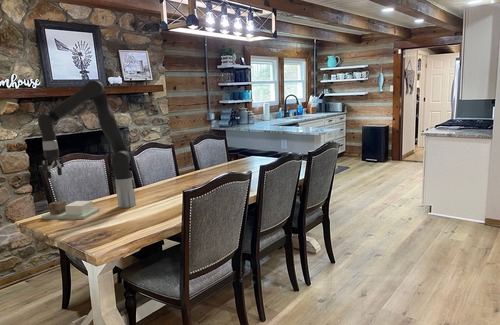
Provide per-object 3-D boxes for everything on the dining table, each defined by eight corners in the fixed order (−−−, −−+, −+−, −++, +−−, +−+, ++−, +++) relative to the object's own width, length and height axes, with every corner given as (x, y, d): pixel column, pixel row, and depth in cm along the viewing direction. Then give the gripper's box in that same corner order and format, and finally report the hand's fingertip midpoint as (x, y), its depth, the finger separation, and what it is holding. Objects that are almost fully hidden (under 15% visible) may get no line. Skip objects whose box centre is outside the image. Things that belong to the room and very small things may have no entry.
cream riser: (93, 209, 218) (92, 200, 217) (82, 214, 208) (81, 205, 207) (77, 209, 219) (76, 200, 219) (66, 214, 210) (65, 205, 209)
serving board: (99, 211, 218) (98, 208, 218) (84, 219, 205) (84, 216, 204) (58, 211, 223) (58, 208, 223) (42, 218, 210) (41, 216, 209)
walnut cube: (66, 211, 216) (65, 201, 215) (59, 214, 210) (58, 204, 210) (57, 211, 217) (56, 201, 216) (50, 214, 212) (48, 204, 211)
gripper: (47, 150, 207) (51, 179, 210) (65, 146, 221) (68, 174, 224) (35, 150, 209) (40, 179, 212) (53, 147, 223) (57, 174, 225)
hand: (54, 176), depth 218 cm, fingers open, 8 cm apart
